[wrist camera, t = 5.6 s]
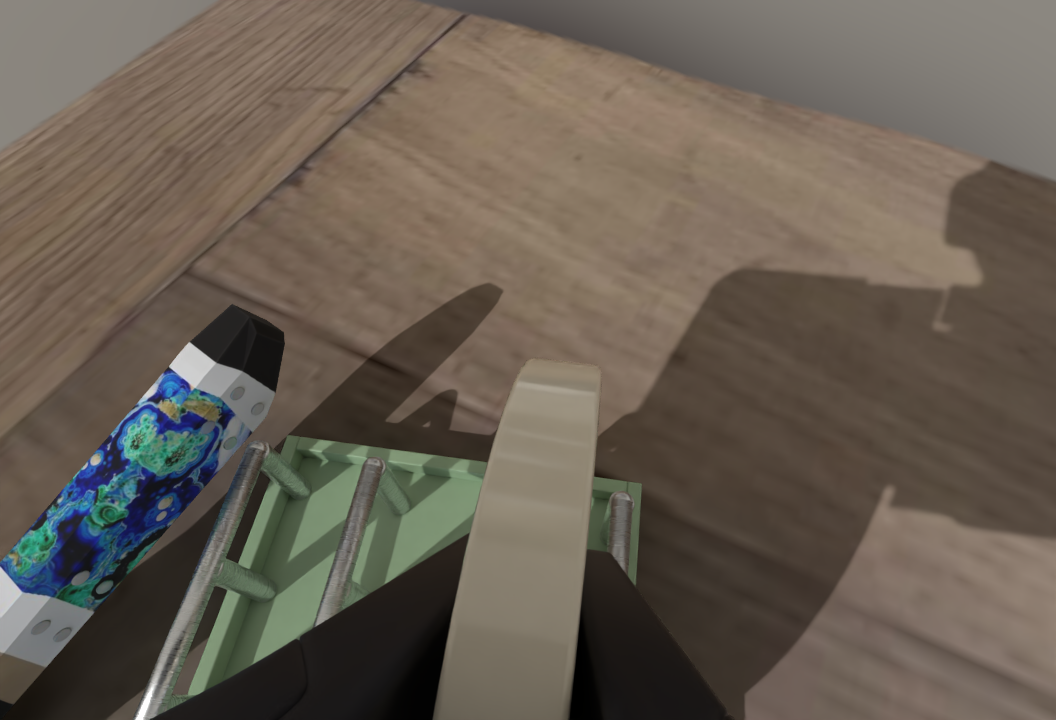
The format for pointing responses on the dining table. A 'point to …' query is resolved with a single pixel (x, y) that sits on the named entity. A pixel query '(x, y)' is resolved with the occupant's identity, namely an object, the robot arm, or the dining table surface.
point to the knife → (133, 490)
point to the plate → (526, 554)
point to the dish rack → (335, 546)
